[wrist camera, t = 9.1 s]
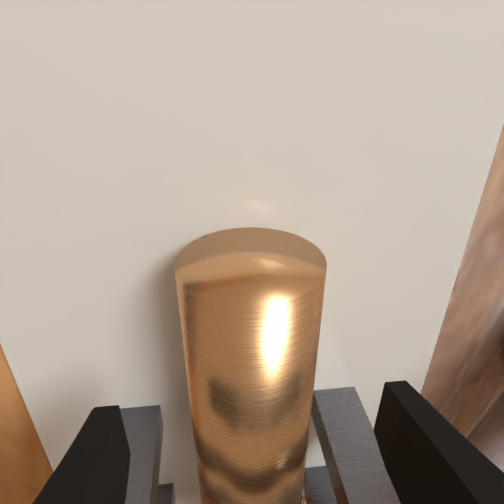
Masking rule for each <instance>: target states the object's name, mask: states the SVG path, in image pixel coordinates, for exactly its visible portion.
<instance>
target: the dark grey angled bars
mask: <svg viewBox="0 0 504 504" xmlns="http://www.w3.org/2000/svg"><path fill="white" fill-rule="evenodd" d="M303 489H304V494H305V498H306V502H307V504H337V500H336V497H335V493H334V490H333V487H332V483H331V480H330V476H329V473H328V470H327V466H317V467H308V468H305V473H304V482H303ZM175 503H176V498H175V492H174V486H173V483H169V484H161V485H158V494H157V504H175Z"/></svg>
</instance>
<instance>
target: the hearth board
mask: <svg viewBox="0 0 504 504" xmlns="http://www.w3.org/2000/svg"><path fill="white" fill-rule="evenodd" d="M503 124H504V0H0V344H1V347H2V349H3V351H4V354H5V356H6V359H7V361H8V363H9V366H10V368H11V371H12V373H13V376H14V378H15V380H16V383H17V385H18V388H19V390H20V393H21V395H22V397H23V400H24V402H25V405H26V407H27V409H28V412H29V414H30V417H31V419H32V422H33V424H34V426H35V429H36V431H37V434H38V436H39V438H40V441H41V443H42V446H43V448H44V451H45V453H46V455H47V458H48V460H49V463H50V465H51V467H52V470H53V472H54V471H55V469H56V468H57V466H58V465H59V463H60V462H61V460H62V459H63V457H64V455H65V454H66V452H67V451H68V449H69V447H70V446H71V444H72V443H73V441H74V439H75V438H76V436H77V434H78V433H79V431H80V429H81V427H82V426H83V424H84V422H85V421H86V419H87V417H88V415H89V414H90V412H91V410H92V409H93V408H94V407H101V406H113V405H119V407H120V409H121V408H132V407H142V406H153V405H160V407H161V413H162V420H163V426H164V429H163V440H162V451H161V461H160V472H159V483H158V485H161V484H169V483H173V486H174V492H175V498H176V503H175V504H201V498H200V489H199V480H198V471H197V462H196V454H195V445H194V436H193V427H192V418H191V409H190V400H189V391H188V383H187V374H186V365H185V356H184V347H183V338H182V329H181V320H180V312H179V303H178V294H177V285H176V276H175V260H176V258H177V256H178V254H179V253H180V251H181V250H182V249H183V248H184V247H185V246H186V245H188V244H189V243H190V242H192V241H194V240H196V239H197V238H200V237H202V236H204V235H207V234H210V233H213V232H217V231H221V230H226V229H233V228H246V227H256V228H269V229H276V230H281V231H285V232H289V233H292V234H295V235H298V236H300V237H302V238H304V239H306V240H308V241H310V242H311V243H313V244H314V245H315V246H317V247H318V248H319V249H320V250H321V252H322V253H323V254H324V256H325V258H326V262H327V272H326V281H325V290H324V299H323V308H322V317H321V327H320V336H319V345H318V354H317V363H316V372H315V382H314V390H323V389H334V388H344V387H355V389H356V391H357V394H358V396H359V398H360V400H361V403H362V405H363V407H364V409H365V412H366V414H367V416H368V418H369V421H370V423H371V425H372V428H373V430H374V425H375V421H376V417H377V413H378V409H379V404H380V400H381V396H382V392H383V388H384V383H385V382H392V381H403V380H406V381H407V382H408V383H409V384H410V385H411V386H412V387H413V388H414V389H415V390H416V391H417V392H418V393H419V394H421V390H422V387H423V384H424V381H425V377H426V374H427V371H428V368H429V364H430V361H431V358H432V355H433V351H434V348H435V345H436V342H437V338H438V335H439V332H440V329H441V325H442V322H443V319H444V316H445V312H446V309H447V306H448V303H449V300H450V296H451V293H452V290H453V287H454V283H455V280H456V277H457V274H458V270H459V267H460V264H461V261H462V257H463V254H464V251H465V248H466V244H467V241H468V238H469V235H470V231H471V228H472V225H473V222H474V218H475V215H476V212H477V209H478V205H479V202H480V199H481V196H482V193H483V189H484V186H485V183H486V180H487V176H488V173H489V170H490V167H491V163H492V160H493V157H494V154H495V150H496V147H497V144H498V141H499V137H500V134H501V131H502V128H503ZM317 466H326V463H325V460H324V456H323V453H322V449H321V446H320V443H319V439H318V436H317V432H316V429H315V426H314V422H313V419H312V415H311V418H310V427H309V437H308V446H307V455H306V464H305V468H308V467H317ZM303 496H305V494H304V489H303V491H302V497H303Z"/></svg>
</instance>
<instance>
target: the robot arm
mask: <svg viewBox="0 0 504 504" xmlns="http://www.w3.org/2000/svg"><path fill="white" fill-rule="evenodd" d="M373 431H374V434H375V437H376V440H377V444H378V447H379V450H380V453H381V456H382V459H383V462H384V465H385V468H386V471H387V473H388V475H389V478H390V480H391V482H392V484H393V487H394V489H395V491H396V494H397V496H398V498H399V500H400V503H401V504H504V473H503V472H502V471H501V470H500V469H499V468H498V467H497V466H495V465H494V464H493V463H492V462H491V461H490V460H489V459H488V458H486V457H485V456H484V455H483V454H482V453H481V452H480V451H479V450H478V449H477V448H476V447H474V446H473V445H472V444H471V443H470V442H469V441H468V440H467V439H466V438H465V437H464V436H463V435H462V434H460V433H459V432H458V431H457V430H456V429H455V428H454V427H453V426H452V425H451V424H450V423H449V422H448V421H447V420H446V419H445V418H444V417H443V416H442V415H441V414H440V413H439V412H438V411H437V410H436V409H435V408H434V407H433V406H432V405H431V404H430V403H429V402H428V401H427V400H425V399H424V398H423V397H422V396H421V395H420V394H419V393H418V392H417V391H416V390H415V389H414V388H413V387H412V386H411V385H410V384H409V383H408V382H407V381H406V380H403V381H392V382H385V383H384V388H383V392H382V396H381V400H380V404H379V409H378V413H377V417H376V421H375V425H374V430H373ZM130 457H131V453H130V448H129V444H128V440H127V436H126V432H125V428H124V424H123V419H122V415H121V411H120V407H119V405H113V406H101V407H94V408H93V409H92V410H91V412H90V414H89V415H88V417H87V419H86V421H85V422H84V424H83V426H82V427H81V429H80V431H79V433H78V434H77V436H76V438H75V439H74V441H73V443H72V444H71V446H70V447H69V449H68V451H67V452H66V454H65V455H64V457H63V459H62V460H61V462H60V463H59V465H58V466H57V468H56V469H55V471H54V472H53V474H52V475H51V477H50V479H49V480H48V482H47V483H46V485H45V486H44V488H43V489H42V491H41V492H40V494H39V495H38V497H37V498H36V500H35V501H34V502H33V504H125V499H126V493H127V485H128V476H129V467H130Z"/></svg>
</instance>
